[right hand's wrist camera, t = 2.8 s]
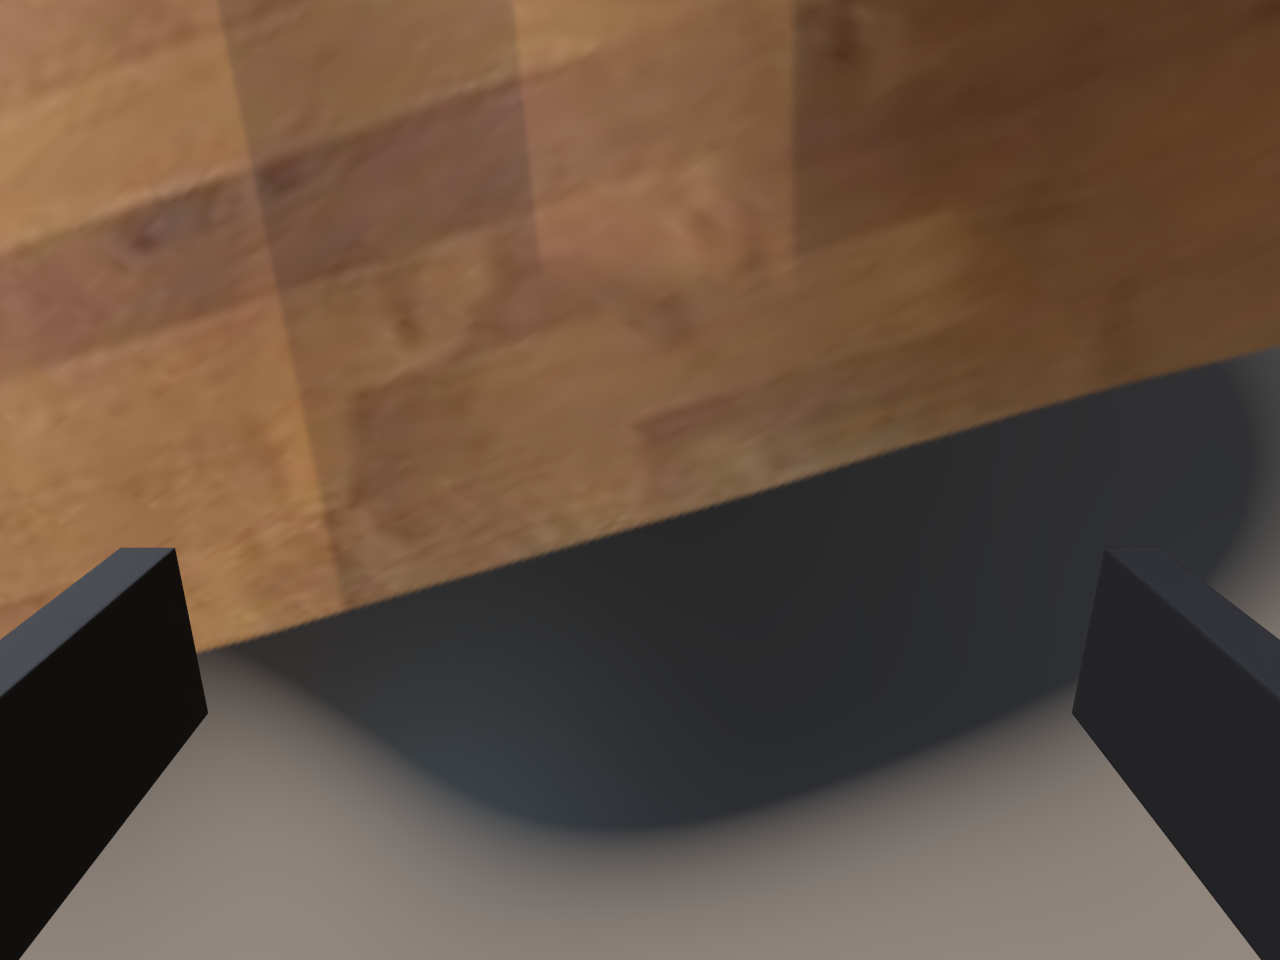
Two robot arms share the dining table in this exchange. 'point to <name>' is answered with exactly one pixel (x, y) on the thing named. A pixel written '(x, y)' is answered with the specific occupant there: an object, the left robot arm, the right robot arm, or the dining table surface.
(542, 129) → the dining table surface
